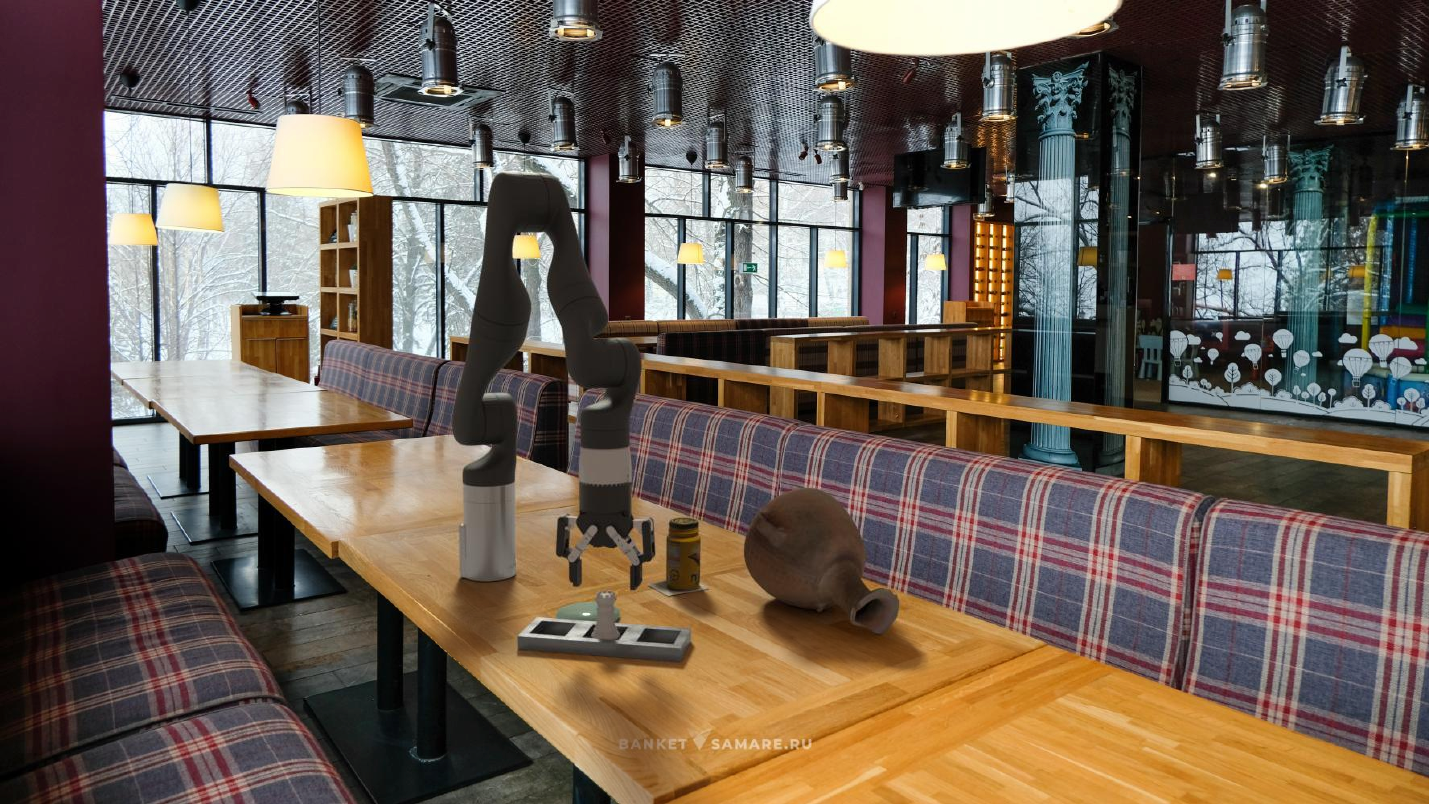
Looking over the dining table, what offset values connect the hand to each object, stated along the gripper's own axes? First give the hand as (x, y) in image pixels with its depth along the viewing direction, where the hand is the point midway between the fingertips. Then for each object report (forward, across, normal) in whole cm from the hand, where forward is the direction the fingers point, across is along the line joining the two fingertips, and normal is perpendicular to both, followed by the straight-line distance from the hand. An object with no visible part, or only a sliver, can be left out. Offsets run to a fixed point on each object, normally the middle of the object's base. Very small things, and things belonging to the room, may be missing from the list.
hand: (605, 587), depth 135 cm
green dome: (+9, -6, +11) cm, 16 cm away
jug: (+9, +30, +21) cm, 38 cm away
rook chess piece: (+9, 0, 0) cm, 9 cm away
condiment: (+9, +5, +29) cm, 31 cm away
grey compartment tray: (+9, 0, 0) cm, 9 cm away
